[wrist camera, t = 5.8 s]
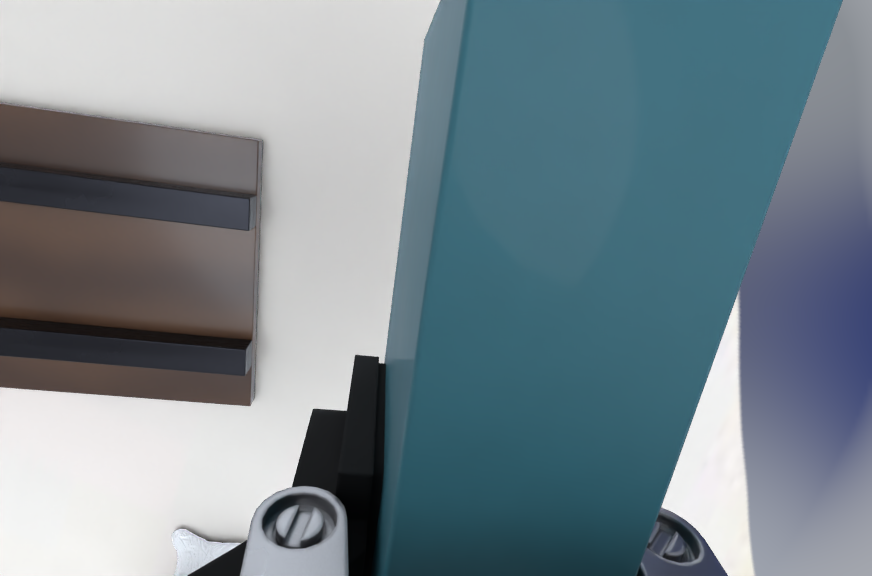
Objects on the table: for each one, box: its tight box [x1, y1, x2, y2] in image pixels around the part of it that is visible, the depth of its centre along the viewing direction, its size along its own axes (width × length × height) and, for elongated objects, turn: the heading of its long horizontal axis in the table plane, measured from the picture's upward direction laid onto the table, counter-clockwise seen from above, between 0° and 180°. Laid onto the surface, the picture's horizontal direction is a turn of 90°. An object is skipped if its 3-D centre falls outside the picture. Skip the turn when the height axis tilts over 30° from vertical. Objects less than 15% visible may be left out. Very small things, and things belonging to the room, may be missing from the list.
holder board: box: [0, 102, 263, 406], centre depth 23 cm, size 14×22×2 cm, turn 82°
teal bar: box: [371, 0, 843, 576], centre depth 9 cm, size 16×3×6 cm, turn 172°
